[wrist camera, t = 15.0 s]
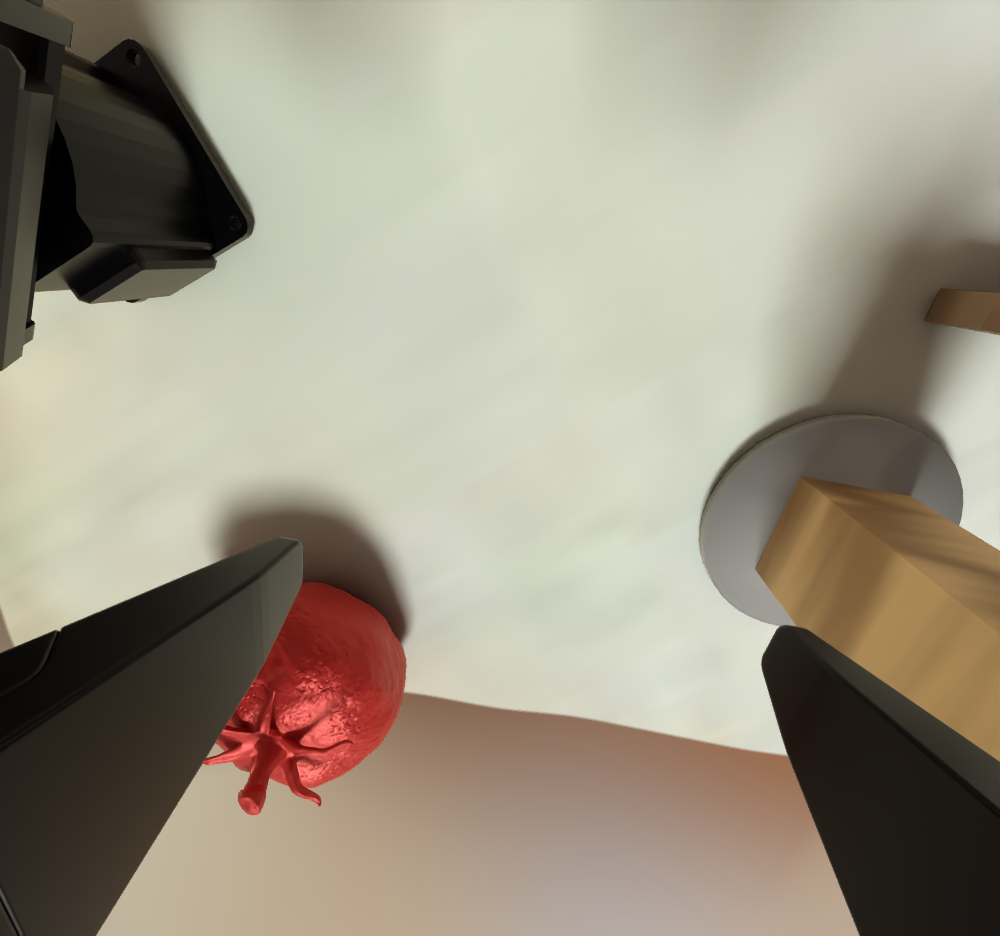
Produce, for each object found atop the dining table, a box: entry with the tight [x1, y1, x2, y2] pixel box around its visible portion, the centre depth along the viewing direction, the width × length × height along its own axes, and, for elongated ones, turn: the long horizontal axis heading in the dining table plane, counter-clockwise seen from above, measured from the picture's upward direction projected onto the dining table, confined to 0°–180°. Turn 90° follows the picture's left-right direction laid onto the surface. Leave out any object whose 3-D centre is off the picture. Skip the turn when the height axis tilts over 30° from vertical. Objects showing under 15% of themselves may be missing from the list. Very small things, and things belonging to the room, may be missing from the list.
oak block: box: [755, 476, 1000, 761], centre depth 16 cm, size 5×5×13 cm
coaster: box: [699, 414, 963, 626], centre depth 22 cm, size 11×11×1 cm
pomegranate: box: [203, 582, 406, 815], centre depth 22 cm, size 10×10×9 cm
